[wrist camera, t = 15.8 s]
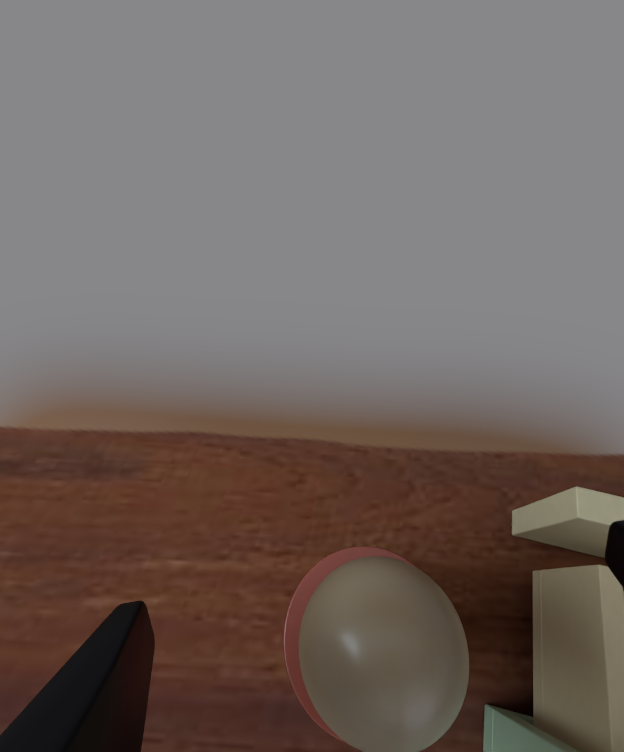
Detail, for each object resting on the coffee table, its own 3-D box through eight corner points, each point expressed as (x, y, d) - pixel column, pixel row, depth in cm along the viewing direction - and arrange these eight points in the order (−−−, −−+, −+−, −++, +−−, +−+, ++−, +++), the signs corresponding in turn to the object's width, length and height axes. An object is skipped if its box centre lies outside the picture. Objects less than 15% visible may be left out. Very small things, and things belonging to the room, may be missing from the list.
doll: (408, 643, 19) (574, 721, 8) (318, 703, 18) (355, 895, 7) (357, 546, 21) (429, 491, 9) (272, 594, 20) (238, 598, 8)
